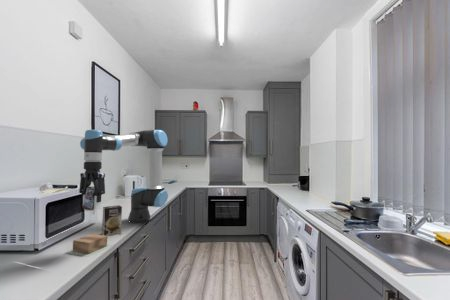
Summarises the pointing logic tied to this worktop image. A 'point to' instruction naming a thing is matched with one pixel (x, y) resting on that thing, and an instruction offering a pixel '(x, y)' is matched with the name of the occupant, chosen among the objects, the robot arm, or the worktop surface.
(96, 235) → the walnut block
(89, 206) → the beverage can
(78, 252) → the build pad
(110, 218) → the coffee box
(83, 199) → the robot arm
